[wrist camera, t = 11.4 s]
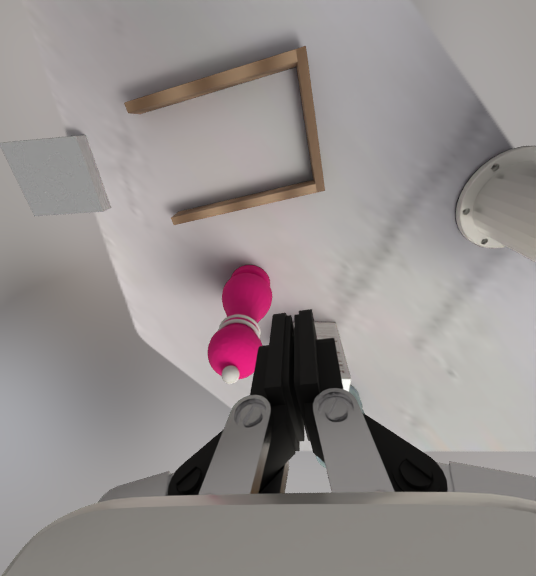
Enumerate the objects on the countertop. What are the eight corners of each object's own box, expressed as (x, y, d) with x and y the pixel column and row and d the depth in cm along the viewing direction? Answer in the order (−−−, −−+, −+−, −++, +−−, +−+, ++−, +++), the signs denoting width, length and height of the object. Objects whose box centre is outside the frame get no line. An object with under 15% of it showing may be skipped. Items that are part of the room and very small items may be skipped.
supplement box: (332, 354, 51) (345, 415, 40) (291, 352, 52) (293, 413, 41) (337, 321, 48) (353, 379, 37) (293, 319, 48) (296, 377, 37)
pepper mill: (230, 257, 43) (193, 347, 25) (277, 266, 43) (272, 360, 26) (225, 297, 46) (190, 399, 29) (268, 304, 47) (259, 410, 29)
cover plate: (88, 135, 36) (75, 135, 34) (112, 206, 40) (103, 211, 38) (15, 141, 37) (-2, 142, 34) (47, 211, 41) (34, 216, 39)
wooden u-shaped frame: (303, 52, 30) (305, 45, 28) (322, 185, 37) (324, 190, 34) (136, 104, 33) (124, 102, 31) (181, 218, 40) (173, 225, 37)
